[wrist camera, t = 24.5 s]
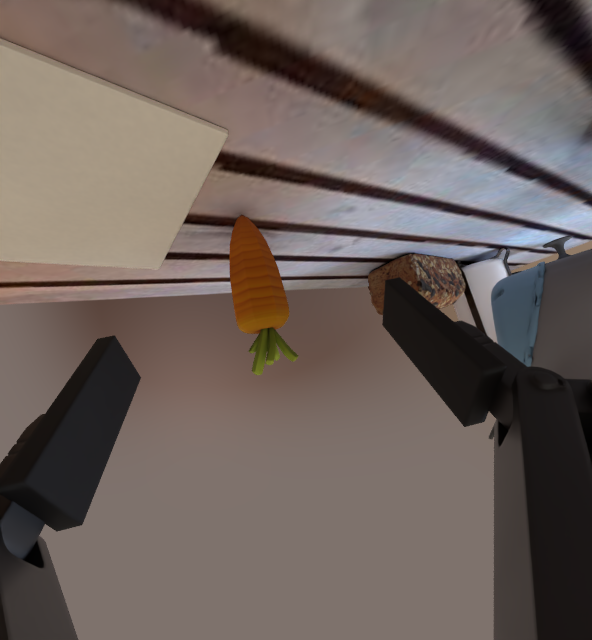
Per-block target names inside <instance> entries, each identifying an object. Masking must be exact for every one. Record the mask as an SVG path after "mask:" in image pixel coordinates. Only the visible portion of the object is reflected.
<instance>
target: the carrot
mask: <svg viewBox="0 0 592 640" xmlns="http://www.w3.org/2000/svg"><path fill="white" fill-rule="evenodd" d="M230 281H231V289H232V296H233V303H234V309H235V316H236V321H237V325H238V327H239V329H240V330H241V331H243V332H245V333H251V334H255V333H256V334H258V333H259V335H258V337H257V338H256V340H255V341H254V343H253V345H252V346H251V348H250V350H249V352H250V353H254V352H256V355H255V358H254V362H253V368H252V371H253V373H254V374H256V375H261V374H262V372H263V367H264V364H265V358H266V352H268V353H267V359H266V364H267V365H272V364H273V362H274V359H275V360H278V359H279V358H280V355H279V352H278V349H277V346H276V343H277V345H278V346H279V348H280V349H281V351H282V352H283V354H284V355H285V356H286V357H287V358H288V359H289V360H291V361H295V360H296V359H297V357H298V355H297V354H296V353H295V352H294V351H293V350H292V349H291V348H290V347H289V346H288V345H287V344H286V343H285V341H284V340H283V339H282V338H281V336H280V335H279V334H278V333H277V332H276V329H278V328H281V327H282V326H283V325H284V324H285V322H286V321H287V319H288V317H289V307H288V303H287V299H286V295H285V291H284V287H283V284H282V280H281V277H280V273H279V270H278V267H277V264H276V262H275V260H274V257H273V255H272V253H271V251H270V248H269V246H268V244H267V242H266V240H265V239H264V237H263V236H262V234H261V233H260V231H259V230H258V228H257V227H256V226H255V225H254V224H253V223H252V222H251V221H250V219H249V218H247V217H245V216H243V215H241V216H240V217H239V218H238V219H237V220H236V223H235V226H234V229H233V231H232V237H231V242H230Z"/></svg>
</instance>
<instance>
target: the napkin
mask: <svg viewBox="0 0 592 640" xmlns="http://www.w3.org/2000/svg"><path fill="white" fill-rule="evenodd" d="M227 137H228V130H226V129H224V128H222V127H219V126H217V125H214V124H212V123H209V122H207V121H204V120H202V119H199V118H197V117H194V116H192V115H189V114H187V113H184V112H182V111H179V110H177V109H174V108H172V107H170V106H167V105H165V104H162V103H160V102H157V101H155V100H152V99H150V98H147V97H145V96H142V95H140V94H137V93H135V92H132V91H130V90H127V89H125V88H122V87H120V86H118V85H115V84H113V83H110V82H108V81H105V80H103V79H100V78H98V77H95V76H93V75H90V74H88V73H85V72H83V71H80V70H78V69H75V68H73V67H70V66H68V65H65V64H63V63H61V62H58V61H56V60H53V59H51V58H48V57H46V56H43V55H41V54H38V53H36V52H33V51H31V50H28V49H26V48H23V47H21V46H18V45H16V44H13V43H11V42H9V41H6V40H4V39H1V38H0V261H9V262H28V263H47V264H65V265H84V266H103V267H121V268H140V269H159V268H160V266H161V264H162V262H163V260H164V259H165V257H166V255H167V253H168V251H169V249H170V247H171V245H172V243H173V241H174V239H175V237H176V235H177V233H178V232H179V230H180V228H181V226H182V224H183V222H184V220H185V218H186V216H187V214H188V212H189V210H190V208H191V206H192V204H193V203H194V201H195V199H196V197H197V195H198V193H199V191H200V189H201V187H202V185H203V183H204V181H205V179H206V177H207V176H208V174H209V172H210V170H211V168H212V166H213V164H214V162H215V160H216V158H217V156H218V154H219V152H220V150H221V149H222V147H223V145H224V143H225V141H226V139H227Z"/></svg>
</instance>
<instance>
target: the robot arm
mask: <svg viewBox="0 0 592 640" xmlns="http://www.w3.org/2000/svg"><path fill="white" fill-rule="evenodd" d="M491 306H492V313H493V320H494V326H495V332H496V337H497V342H498V344H497V343H496V342H493V340H492V339H491V338H490V337H488V336H485V334H484V333H483V332H482V331H480V330H479V329H478V328H477V327H475V326H473V325H471V324H469V323H466V322H464V321H462V320H461V321H457V322H453V321H452V320H451V319H450V318H448V317H447V316H446V315H445V314H444V313H442V312H441V311H440V310H439V309H438V308H436V307H435V306H434V305H433V304H432V303H430V302H429V301H428V300H427V299H425V298H424V297H423V296H422V295H421V294H419V293H418V292H417V291H416V290H415V289H413V288H412V287H411V286H410V285H408V284H407V283H406V282H405V281H404V280H402V279H401V278H400V277H398V278H393V279H388V280H385V291H384V308H383V326H384V327H385V329H386V330H387V331H388V332H389V333H390V335H391V336H392V337H393V338H394V340H395V341H396V342H397V344H398V345H399V346H400V347H401V349H402V350H403V351H404V352H405V354H406V355H407V356H408V357H409V358H410V360H411V361H412V362H413V363H414V365H415V366H416V367H417V368H418V370H419V371H420V372H421V373H422V374H423V376H424V377H425V378H426V380H427V381H428V382H429V383H430V385H431V386H432V387H433V388H434V390H435V391H436V392H437V393H438V395H439V396H440V397H441V398H442V400H443V401H444V402H445V403H446V405H447V406H448V407H449V408H450V409H451V411H452V412H453V413H454V415H455V416H456V417H457V418H458V419H459V421H460V422H461V423H462V424H463V426H464V427H466V426H470V425H474V424H478V423H482V422H484V421H485V419H486V416H487V414H488V411H490V413H491V414H492V415H493V416H494V417H495V418H496V419H497V420H496V422H495V424H494V426H493V428H492V430H491V433H490V435H489V439H493V437H494V640H592V249H590V250H587V251H584V252H581V253H577V254H574V255H571V256H568V257H565V258H562V259H559V260H556V261H552V262H549V263H546V264H545V262H541V263H539V264H538V265H537V266H535V267H533V268H530V269H527V270H524V271H522V272H519V273H516V274H513V275H511V276H508V277H505V278H503V279H501V280H500V281H499V282H497V283H496V284H495V286H494V287H493V289H492V292H491ZM140 378H141V377H140V375H139V374H138V372H137V371H136V369H135V367H134V366H133V364H132V362H131V361H130V359H129V358H128V356H127V354H126V353H125V351H124V350H123V348H122V347H121V345H120V343H119V342H118V340H117V339H116V337H115V336H110V337H105V338H100V339H97V340H96V342H95V343H94V345H93V346H92V348H91V349H90V350H89V352H88V353H87V355H86V356H85V358H84V359H83V360H82V362H81V364H80V365H79V367H78V368H77V369H76V371H75V372H74V373H73V375H72V376H71V378H70V379H69V381H68V382H67V383H66V385H65V386H64V388H63V389H62V391H61V392H60V393H59V395H58V396H57V398H56V399H55V401H54V402H53V403H52V405H51V406H50V408H49V409H48V411H47V412H46V414H42V415H41V416H39V417H38V418H37V419H36V420H35V421H34V422H32V423H31V424H30V425H29V426H28V427H27V428H26V430H25V431H24V432H23V433H22V435H21V436H20V438H19V439H18V440H17V444H15V445H14V446H13V447H12V449H11V450H10V451H9V453H8V456H6V457H5V458H4V459H3V461H2V462H1V464H0V640H78V638H77V635H76V632H75V629H74V626H73V623H72V620H71V617H70V614H69V611H68V608H67V605H66V602H65V599H64V596H63V593H62V590H61V587H60V584H59V581H58V578H57V575H56V572H55V569H54V566H53V563H52V560H51V557H50V554H49V551H48V548H47V545H46V542H45V541H44V539H43V538H41V537H40V536H39V535H40V533H41V531H42V529H43V526H44V525H45V524H46V525H48V526H49V527H51V528H52V529H54V530H56V531H61V530H64V529H68V528H72V527H76V526H80V525H82V524H83V522H84V519H85V517H86V514H87V512H88V509H89V506H90V504H91V502H92V499H93V497H94V494H95V492H96V489H97V487H98V484H99V482H100V479H101V476H102V474H103V471H104V469H105V466H106V464H107V461H108V459H109V456H110V454H111V451H112V449H113V446H114V444H115V441H116V439H117V436H118V434H119V431H120V429H121V426H122V424H123V421H124V419H125V416H126V414H127V411H128V409H129V406H130V404H131V401H132V399H133V396H134V394H135V391H136V389H137V386H138V384H139V381H140Z"/></svg>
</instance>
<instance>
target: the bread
mask: <svg viewBox="0 0 592 640" xmlns="http://www.w3.org/2000/svg"><path fill="white" fill-rule="evenodd" d="M398 277H400V278H401V279H402V280H404V281H405V282H406V283H407V284H408V285H410V286H411V287H412V288H413V289H415V290H416V291H417V292H418V293H419V294H421V295H422V296H423V297H424V298H425V299H427V300H428V301H429V302H430V303H432V304H433V305H434V306H435V307H436V308H438V309H441V308H444V307H447V306H449V305H451V304H454V303H455V302H456V301H457V299H458V298H459V297H460V296H461V295H463V293H464V291H465V282H464V279H463V278H462V276H461V271H460V269H459V267H458V266H457V264H456V262H455V261H454V260H453V259H447V258H443V257H436V256H427V255H422V254H413V255H412V254H409V255H406V256H403V257H399V258H398V259H396V260H394V261H391V262H390V263H388V264H386V265H384V266H382V267H380V268H378V269H376V270H374V271H372V272H371V273H370V274H369V275H368V282H369V286H368V288H369V290H370V295H371V301H372V304H373V305H374V307H375V308H376V310H377V313H378V314H380V315H383V308H384V291H385V280H388V279H393V278H398Z"/></svg>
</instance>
